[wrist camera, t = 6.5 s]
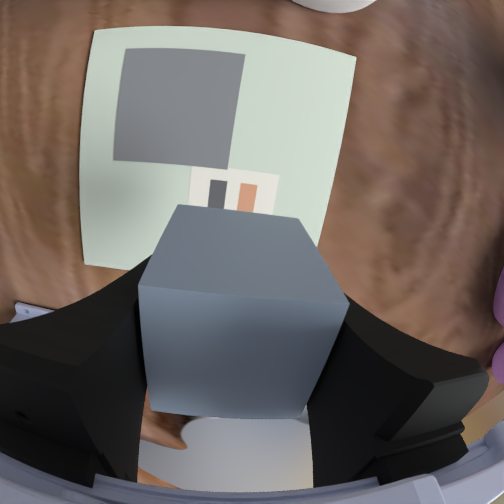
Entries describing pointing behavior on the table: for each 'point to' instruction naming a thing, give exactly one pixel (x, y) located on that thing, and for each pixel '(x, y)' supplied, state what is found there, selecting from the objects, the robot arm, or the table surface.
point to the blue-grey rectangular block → (236, 315)
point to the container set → (500, 363)
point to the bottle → (335, 5)
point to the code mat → (204, 132)
